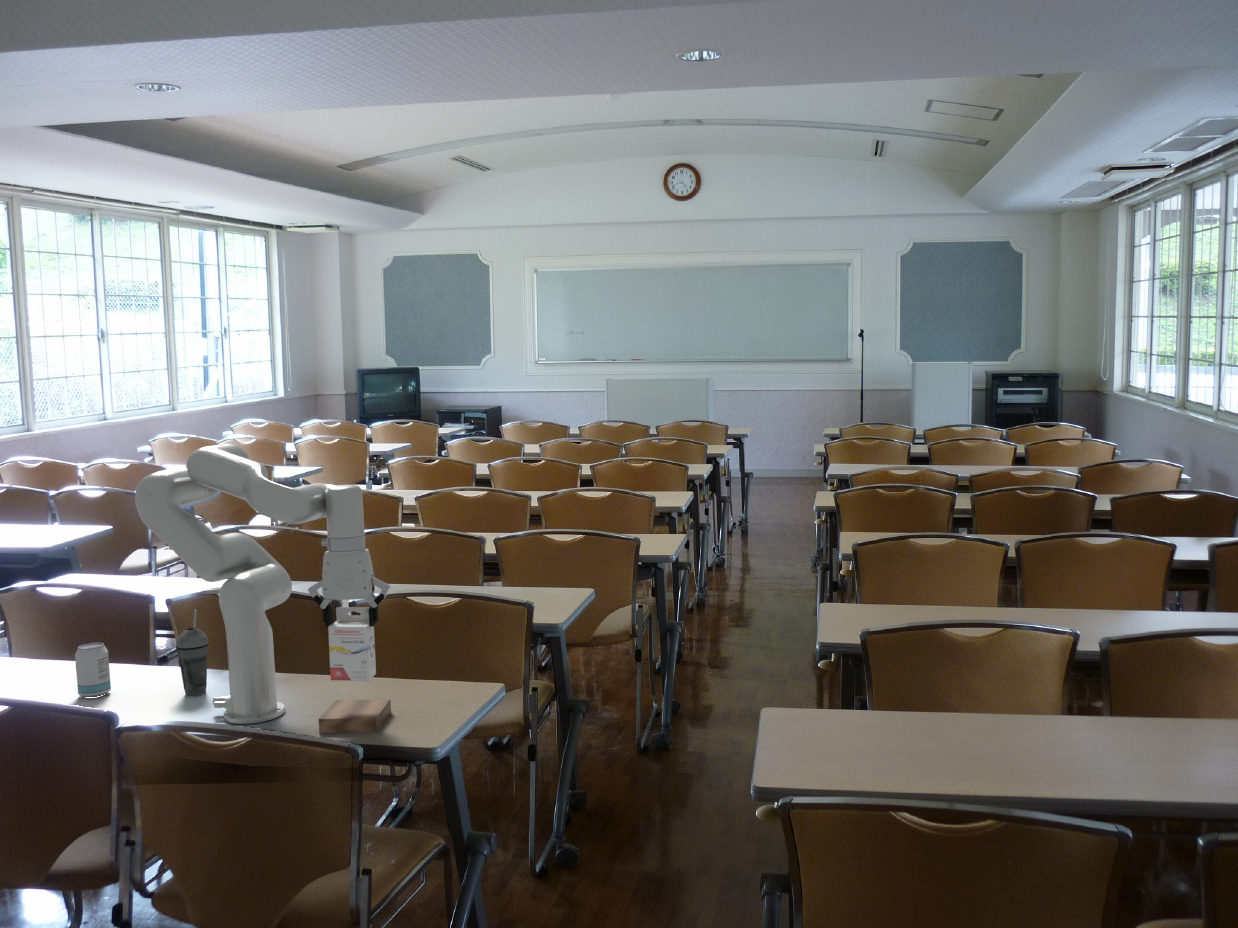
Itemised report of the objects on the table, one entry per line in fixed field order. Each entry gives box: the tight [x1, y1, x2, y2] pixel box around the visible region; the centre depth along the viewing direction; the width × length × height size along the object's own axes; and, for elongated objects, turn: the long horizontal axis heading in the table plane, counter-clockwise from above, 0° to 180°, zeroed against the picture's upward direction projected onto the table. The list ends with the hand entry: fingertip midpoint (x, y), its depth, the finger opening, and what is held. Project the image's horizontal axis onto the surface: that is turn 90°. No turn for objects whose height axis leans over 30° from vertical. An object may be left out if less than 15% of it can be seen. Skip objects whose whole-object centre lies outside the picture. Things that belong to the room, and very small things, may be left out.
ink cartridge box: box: [327, 606, 377, 682], centre depth 222 cm, size 9×5×15 cm, turn 84°
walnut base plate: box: [318, 698, 392, 734], centre depth 224 cm, size 12×12×3 cm
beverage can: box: [74, 642, 112, 698], centre depth 247 cm, size 7×7×12 cm
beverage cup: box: [175, 608, 210, 697], centre depth 246 cm, size 7×7×20 cm
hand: (351, 625), depth 222 cm, fingers closed on ink cartridge box, 8 cm apart
